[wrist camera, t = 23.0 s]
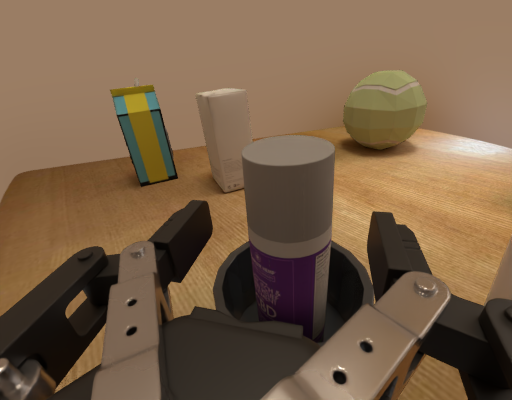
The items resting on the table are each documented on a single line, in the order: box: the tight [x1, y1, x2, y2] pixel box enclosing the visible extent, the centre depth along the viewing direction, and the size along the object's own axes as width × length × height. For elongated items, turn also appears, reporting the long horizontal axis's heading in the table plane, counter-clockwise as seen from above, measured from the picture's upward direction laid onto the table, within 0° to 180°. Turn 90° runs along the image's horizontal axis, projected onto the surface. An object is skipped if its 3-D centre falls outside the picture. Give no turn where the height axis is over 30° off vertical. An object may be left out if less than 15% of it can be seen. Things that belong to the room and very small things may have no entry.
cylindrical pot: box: [213, 241, 374, 347], centre depth 18 cm, size 10×10×7 cm
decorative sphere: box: [343, 70, 427, 150], centre depth 54 cm, size 15×15×15 cm
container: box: [241, 135, 335, 343], centre depth 16 cm, size 5×5×15 cm
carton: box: [110, 78, 178, 187], centre depth 49 cm, size 7×8×18 cm
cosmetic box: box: [196, 88, 253, 193], centre depth 44 cm, size 8×7×16 cm
